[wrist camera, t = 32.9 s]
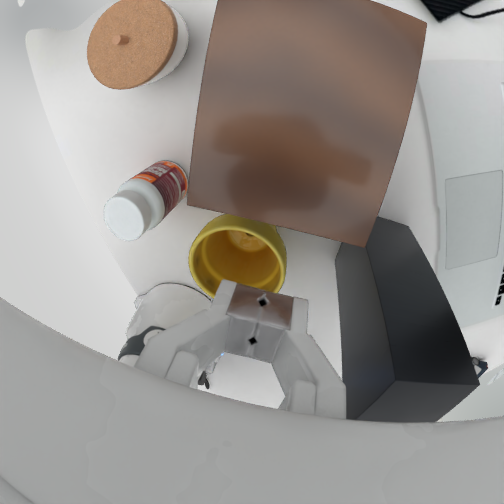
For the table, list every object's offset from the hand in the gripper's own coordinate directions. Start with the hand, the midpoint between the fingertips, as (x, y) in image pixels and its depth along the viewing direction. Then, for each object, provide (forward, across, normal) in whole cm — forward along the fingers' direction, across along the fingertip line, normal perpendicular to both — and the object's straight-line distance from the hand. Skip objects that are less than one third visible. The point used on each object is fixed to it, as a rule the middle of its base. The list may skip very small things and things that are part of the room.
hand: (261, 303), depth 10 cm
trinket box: (+26, +18, -11) cm, 33 cm away
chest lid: (+12, 0, -6) cm, 13 cm away
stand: (+26, -13, +9) cm, 30 cm away
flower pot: (+26, +3, +11) cm, 29 cm away
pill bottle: (+26, +15, +7) cm, 31 cm away
